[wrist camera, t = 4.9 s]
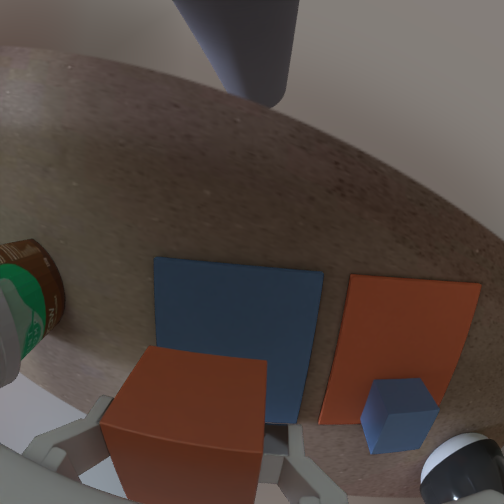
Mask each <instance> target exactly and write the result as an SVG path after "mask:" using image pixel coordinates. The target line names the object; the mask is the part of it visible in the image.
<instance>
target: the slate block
mask: <svg viewBox="0 0 504 504" xmlns="http://www.w3.org/2000/svg"><path fill="white" fill-rule="evenodd" d="M439 410H440V409H439V407H438V405H437V404H436V402H435V400H434V399H433V397H432V396H431V394H430V392H429V391H428V389H427V388H426V386H425V384H424V383H423V381H422V380H421V378H407V379H374V380H373V383H372V386H371V389H370V392H369V395H368V398H367V401H366V404H365V407H364V410H363V412H362V415H361V418H360V420H361V423H362V427H363V430H364V433H365V437H366V440H367V443H368V447H369V450H370V454H381V453H391V452H400V451H407V450H415V449H419V448H420V447H421V445H422V443H423V441H424V440H425V438H426V436H427V434H428V432H429V430H430V428H431V426H432V425H433V423H434V421H435V419H436V417H437V415H438V413H439Z"/></svg>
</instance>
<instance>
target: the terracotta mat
mask: <svg viewBox="0 0 504 504" xmlns="http://www.w3.org/2000/svg"><path fill="white" fill-rule="evenodd" d="M481 287H482V285H480V284H479V283H467V282H452V281H438V280H424V279H410V278H396V277H383V276H370V275H357V274H350V279H349V284H348V290H347V296H346V301H345V307H344V312H343V317H342V322H341V327H340V332H339V337H338V342H337V346H336V351H335V355H334V360H333V364H332V369H331V373H330V377H329V381H328V385H327V389H326V393H325V397H324V401H323V404H322V408H321V412H320V416H319V419H318V422H319V424H362V423H361V420H360V418H361V415H362V412H363V410H364V407H365V404H366V401H367V398H368V395H369V392H370V389H371V386H372V383H373V380H374V379H407V378H421V380H422V381H423V383H424V384H425V386H426V388H427V389H428V391H429V392H430V394H431V396H432V397H433V399H434V400H435V402H436V404H437V405H438V407H439V405H440V403H441V400H442V398H443V396H444V394H445V392H446V389H447V387H448V385H449V382H450V380H451V378H452V375H453V373H454V370H455V368H456V365H457V362H458V360H459V357H460V355H461V352H462V349H463V346H464V343H465V341H466V338H467V335H468V332H469V329H470V325H471V322H472V319H473V316H474V312H475V309H476V305H477V302H478V298H479V294H480V291H481Z"/></svg>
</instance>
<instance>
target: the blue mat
mask: <svg viewBox="0 0 504 504" xmlns="http://www.w3.org/2000/svg"><path fill="white" fill-rule="evenodd" d="M323 278H324V273H323V272H320V271H309V270H297V269H285V268H274V267H262V266H251V265H240V264H229V263H218V262H208V261H197V260H187V259H176V258H166V257H155V258H154V300H155V324H156V341H157V347H163V348H169V349H175V350H182V351H189V352H196V353H203V354H211V355H219V356H228V357H237V358H247V359H258V360H266V361H267V384H266V406H265V422H272V423H290V424H296V423H297V419H298V414H299V410H300V405H301V401H302V396H303V391H304V386H305V381H306V377H307V372H308V366H309V361H310V356H311V351H312V345H313V340H314V334H315V328H316V322H317V316H318V310H319V304H320V298H321V291H322V285H323Z"/></svg>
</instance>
